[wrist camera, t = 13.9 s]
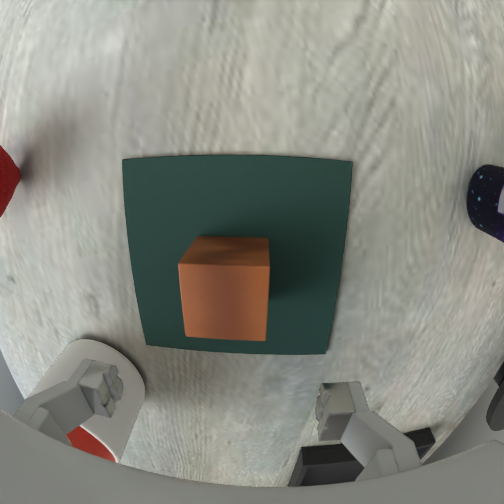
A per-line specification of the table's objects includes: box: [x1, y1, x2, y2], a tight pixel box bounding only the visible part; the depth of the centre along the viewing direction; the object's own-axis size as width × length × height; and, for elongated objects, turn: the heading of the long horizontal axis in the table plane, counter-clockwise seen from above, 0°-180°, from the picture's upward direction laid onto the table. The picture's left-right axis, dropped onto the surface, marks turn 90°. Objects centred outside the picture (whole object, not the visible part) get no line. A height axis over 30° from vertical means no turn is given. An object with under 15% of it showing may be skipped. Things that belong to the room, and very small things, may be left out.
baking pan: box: [288, 427, 436, 487], centre depth 31 cm, size 20×16×3 cm
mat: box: [122, 155, 353, 355], centre depth 21 cm, size 16×16×1 cm
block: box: [178, 236, 270, 341], centre depth 18 cm, size 5×5×5 cm
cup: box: [28, 339, 145, 463], centre depth 21 cm, size 10×10×10 cm
